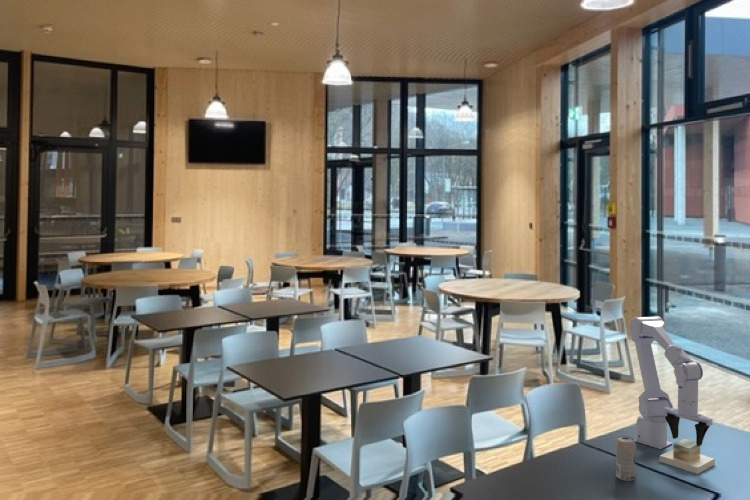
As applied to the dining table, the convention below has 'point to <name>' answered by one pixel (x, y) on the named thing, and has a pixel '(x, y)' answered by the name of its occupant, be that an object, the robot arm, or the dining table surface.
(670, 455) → the white stand
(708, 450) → the dining table surface
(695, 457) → the sage green block
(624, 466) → the energy drink
